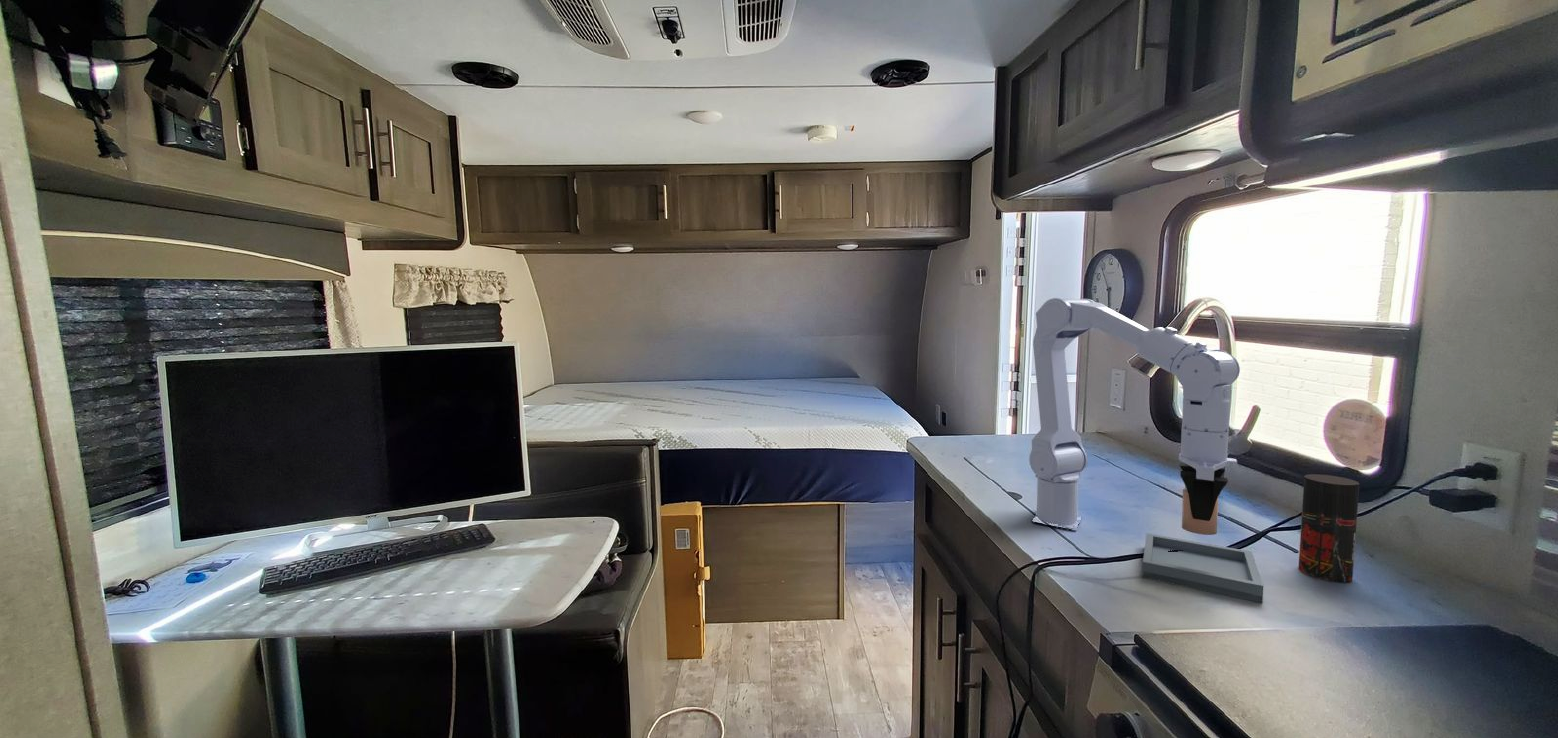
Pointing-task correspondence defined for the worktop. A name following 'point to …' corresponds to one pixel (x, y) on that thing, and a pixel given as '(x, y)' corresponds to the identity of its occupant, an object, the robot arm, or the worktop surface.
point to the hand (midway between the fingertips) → (1200, 514)
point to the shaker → (1196, 524)
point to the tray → (1202, 567)
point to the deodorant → (1328, 527)
